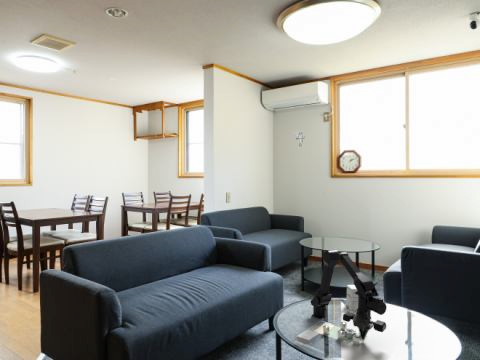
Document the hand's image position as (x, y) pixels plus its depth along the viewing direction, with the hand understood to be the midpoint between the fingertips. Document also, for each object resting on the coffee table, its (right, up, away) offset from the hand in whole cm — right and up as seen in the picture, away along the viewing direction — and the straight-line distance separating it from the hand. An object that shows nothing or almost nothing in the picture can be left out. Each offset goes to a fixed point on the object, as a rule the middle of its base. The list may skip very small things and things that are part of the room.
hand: (363, 339), depth 160 cm
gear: (-5, -1, +4) cm, 7 cm away
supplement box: (+10, -1, +42) cm, 43 cm away
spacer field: (-7, -1, +6) cm, 9 cm away
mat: (-9, -2, +7) cm, 12 cm away
